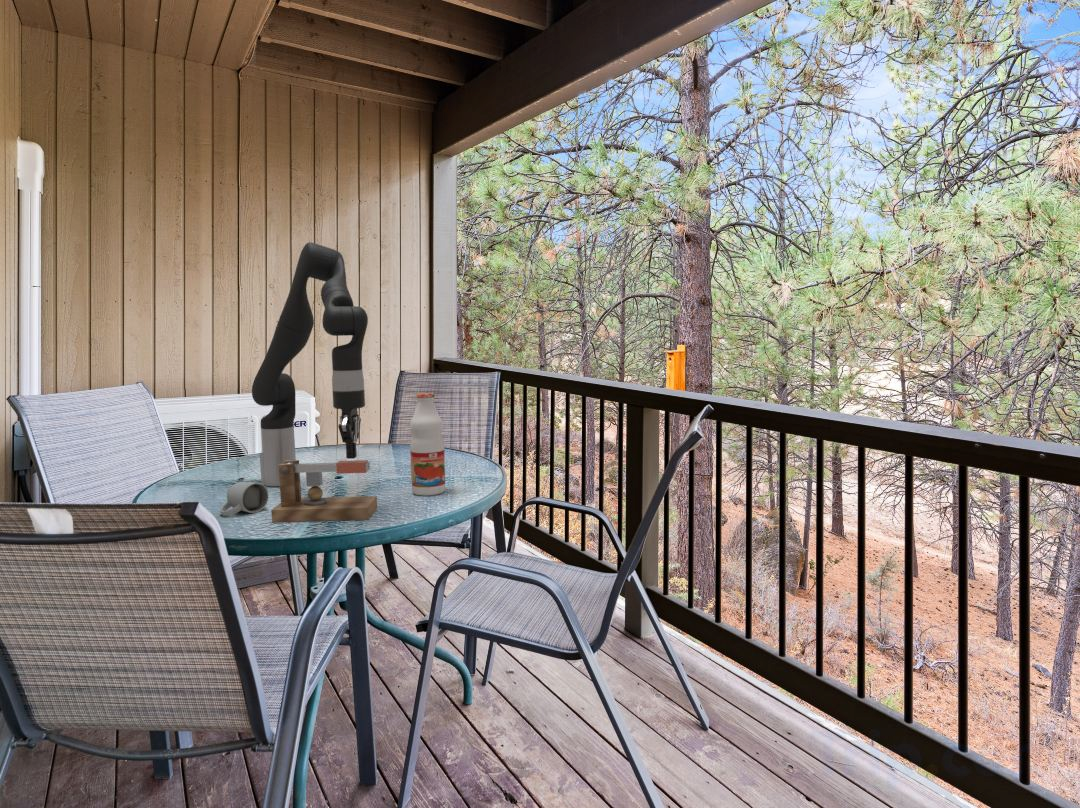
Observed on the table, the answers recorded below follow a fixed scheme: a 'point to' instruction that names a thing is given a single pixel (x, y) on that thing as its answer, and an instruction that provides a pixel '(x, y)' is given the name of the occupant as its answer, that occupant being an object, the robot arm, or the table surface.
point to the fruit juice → (427, 448)
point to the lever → (329, 469)
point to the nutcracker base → (316, 502)
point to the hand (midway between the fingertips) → (351, 457)
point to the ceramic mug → (245, 498)
